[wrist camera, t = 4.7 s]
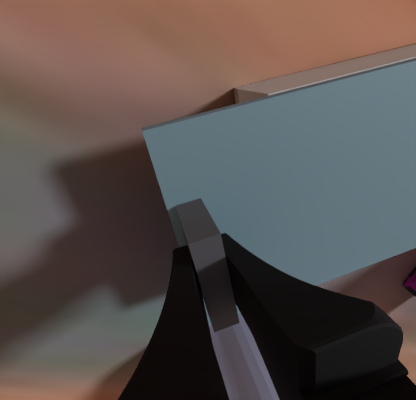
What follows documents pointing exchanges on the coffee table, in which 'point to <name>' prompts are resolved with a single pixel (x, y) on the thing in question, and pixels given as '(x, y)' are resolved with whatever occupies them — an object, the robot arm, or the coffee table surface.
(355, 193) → the carton lid
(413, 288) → the candy bar box
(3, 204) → the coffee table surface
